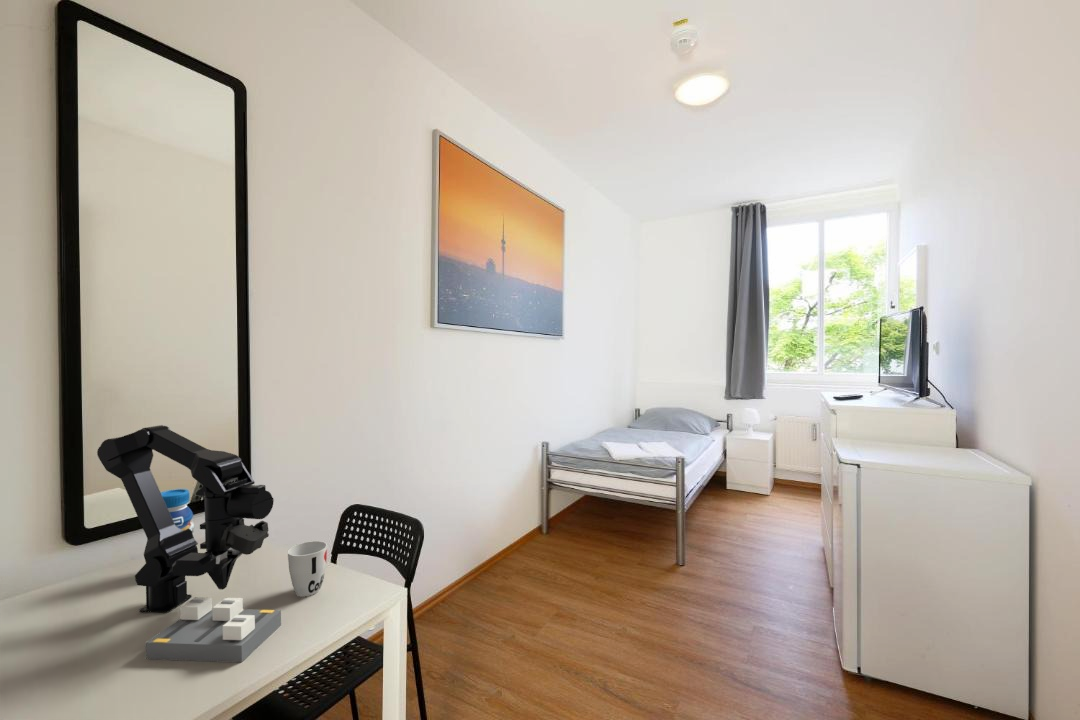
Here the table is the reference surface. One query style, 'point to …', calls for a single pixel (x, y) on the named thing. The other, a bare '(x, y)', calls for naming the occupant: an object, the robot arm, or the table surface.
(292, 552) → the cup
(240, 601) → the switch middle
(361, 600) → the table surface
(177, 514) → the beverage bottle
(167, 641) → the console
